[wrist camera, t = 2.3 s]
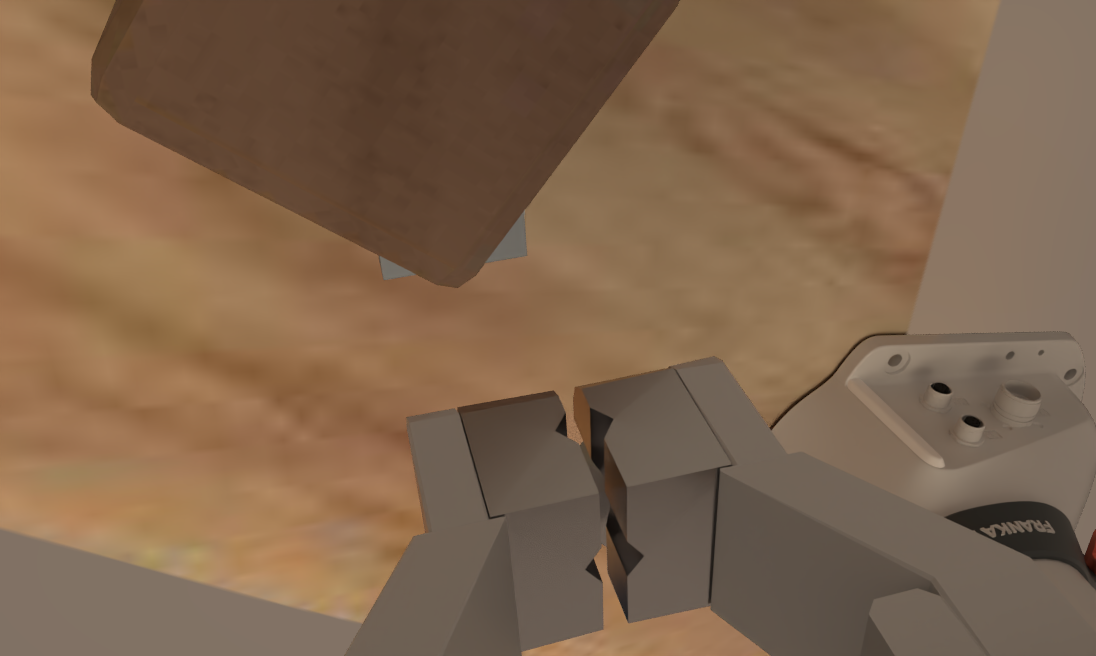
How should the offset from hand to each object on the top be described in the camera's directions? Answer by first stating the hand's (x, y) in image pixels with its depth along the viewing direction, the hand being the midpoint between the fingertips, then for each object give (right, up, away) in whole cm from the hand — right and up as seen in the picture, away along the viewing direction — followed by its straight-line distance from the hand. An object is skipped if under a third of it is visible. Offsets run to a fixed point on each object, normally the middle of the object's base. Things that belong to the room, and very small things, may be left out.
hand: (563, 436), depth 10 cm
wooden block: (-8, +18, +27) cm, 33 cm away
